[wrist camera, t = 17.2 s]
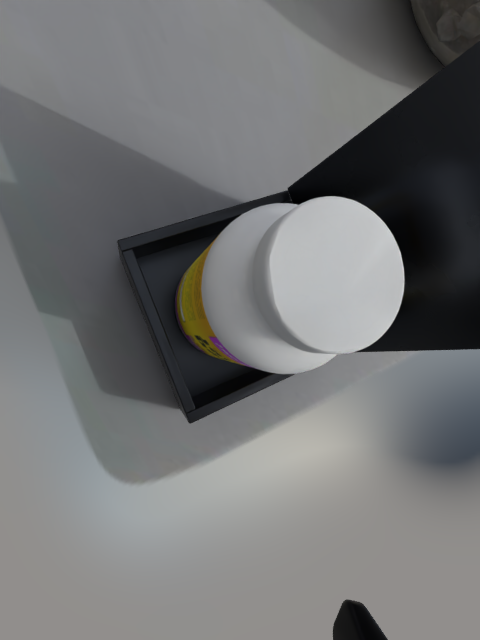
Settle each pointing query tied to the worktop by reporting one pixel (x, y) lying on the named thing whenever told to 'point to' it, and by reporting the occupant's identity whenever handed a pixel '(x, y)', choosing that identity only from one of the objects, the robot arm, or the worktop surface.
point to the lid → (421, 203)
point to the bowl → (448, 26)
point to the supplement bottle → (293, 286)
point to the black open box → (159, 313)
